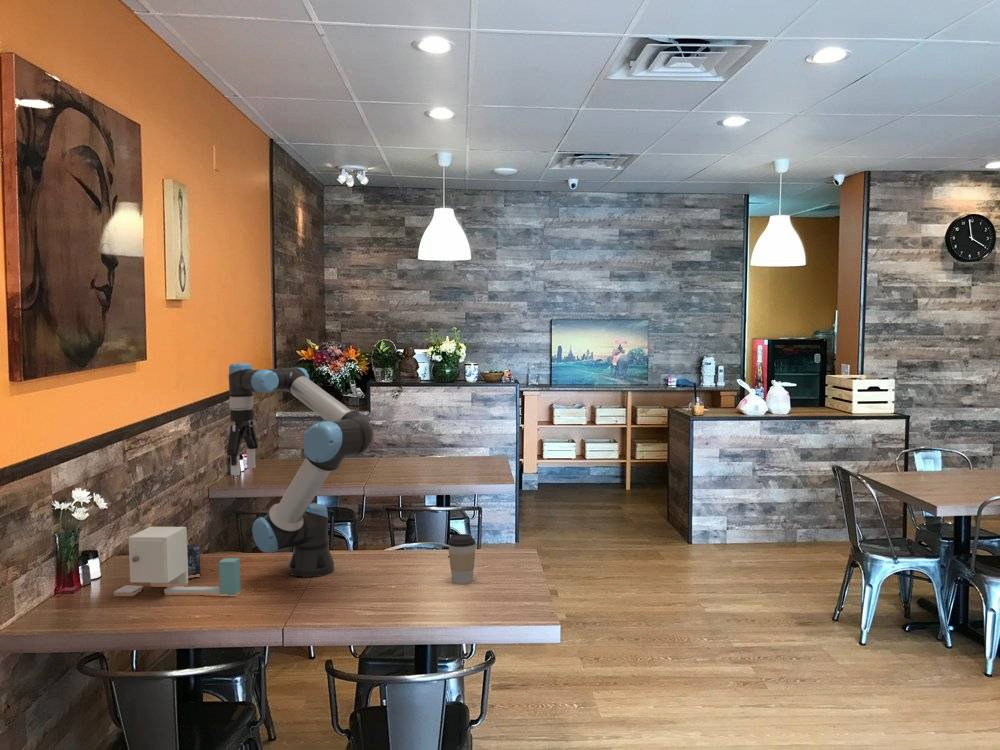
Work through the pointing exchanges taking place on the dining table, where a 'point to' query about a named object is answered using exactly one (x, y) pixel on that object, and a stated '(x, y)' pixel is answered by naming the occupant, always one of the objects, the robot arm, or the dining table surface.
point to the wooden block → (128, 589)
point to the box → (193, 559)
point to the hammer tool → (227, 580)
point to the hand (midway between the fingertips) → (243, 471)
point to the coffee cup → (462, 558)
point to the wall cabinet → (159, 555)
